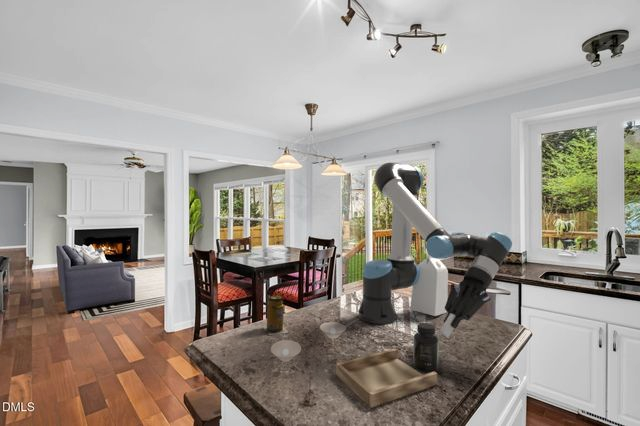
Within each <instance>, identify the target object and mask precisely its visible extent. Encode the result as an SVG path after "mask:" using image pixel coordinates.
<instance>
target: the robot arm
mask: <svg viewBox="0 0 640 426" xmlns="http://www.w3.org/2000/svg"><path fill="white" fill-rule="evenodd" d="M374 183H375V186H376V188H377V190H378V191H379V192H380V194H382V196H383V197H385V198H388V199H389V200H390V202H392V211H391V212H392V214H391V215H392V217H391V240H390V241H391V242H390V253H389V255H387V257H386V259H374V260H373V259H372V260H369V261H366V262H365V263H364V265H363V271H362V300H361V301H360V302H361V303H360V306H359V308H358V312H357V315H358V319H359V320H360V321H362V322H364V323H368V324H373V325H387V324H392V323H394V322H395V320H396V312H395V308H394V306H393V302H392V291H396V290H397V291H398V290H401V289H408V288H410V287H413V285H414V284H415V283H416V282H417V281H418V278H419V268H418V267H417V265H418V264H417V263H416V262H415V257H413V255H412V239H413V238H412V236H413V229H414V230H415V231H416V233H418V234H419V236H420V237H421V238H422V240H423V241H424V242H425V249H426V252H427V253H426V254H429V255H430V256H431V257H433V258H436V259H439V260H440V259H442V260H445V259H450V258H456V257H465V256H466V257H470V258H474V259H473V261H472V263H471V264H470V265H469V267H468V268H467V271H466V272H465V274H464V275H463V279H462V280H461V281H460V282H459V283H458V284H454V283H451V284H450V292H449V293H448V300H447V303H446V305H445V310H446V311H447V312H446V313H447V315H446V316H445V318H444V320H443V324H442V326H441V328H440V330H439V332H440V333H441V335H442V336H443V337H444V338H447V339H449V337H450V335H451V334H452V332H453V330H454V329H457V328H458V326H459V325H460V322H461V321H463V320H465V321H470V319H472V317H473V316H474V315H476V313H477V312H478V310H480V309H481V307H483V305H485V304H486V303H487V302H489V301H491V297H490V296H489V294H488V293H487V290H488V289H489V287H490V285H491V284H492V282H493V279H494V278H495V276H496V275H497V274H498V271H499V270H500V268H501V266H502V264H503V263H504V261H505V259H506V258H507V256H508V255H509V254H510V251H511V249H512V246H513V241H512V239H511V238H510V237H509V236H508V235H506V234H504V233H502V232H499V231H494V232H491V233H490V234H489V235H488V236H487V237H485V236H478V235H474V234H473V235H472V234H468V233H465V232H458V231H457V232H452V233H451V234H449V233H448V231H446V230H445V228H444V227H442V225H440V223H439V222H438V221H437V220H436V218H434V217H433V215H432V214H431V213H429V211H428V210H427V209H426V208H425V207H424V205H423V204H421V202H420V201H419V200H418V199H417V197H418V192H419V190H421V188H422V187H423V185H424V175H423V172H422V170H420V168H419V167H417V166H415V165H412V164H406V163H396V162H386V163H384V164H381V165H380V166H379V167H378V168H377V170H376V172H375V174H374Z"/></svg>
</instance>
